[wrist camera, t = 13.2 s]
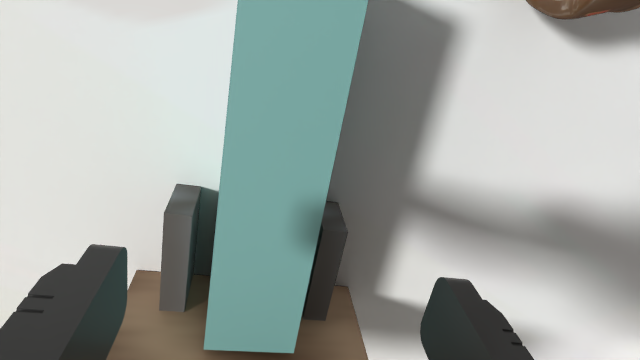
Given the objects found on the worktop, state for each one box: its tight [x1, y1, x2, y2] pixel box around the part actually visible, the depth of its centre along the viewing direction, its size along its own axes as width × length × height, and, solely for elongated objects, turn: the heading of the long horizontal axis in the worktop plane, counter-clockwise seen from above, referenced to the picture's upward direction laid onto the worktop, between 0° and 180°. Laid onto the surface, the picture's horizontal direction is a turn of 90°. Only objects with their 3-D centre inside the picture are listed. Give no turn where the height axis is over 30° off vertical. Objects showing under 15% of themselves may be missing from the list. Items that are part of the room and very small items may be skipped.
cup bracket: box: [106, 184, 368, 360], centre depth 17 cm, size 12×7×14 cm, turn 79°
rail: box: [204, 0, 368, 353], centre depth 18 cm, size 4×16×6 cm, turn 170°
